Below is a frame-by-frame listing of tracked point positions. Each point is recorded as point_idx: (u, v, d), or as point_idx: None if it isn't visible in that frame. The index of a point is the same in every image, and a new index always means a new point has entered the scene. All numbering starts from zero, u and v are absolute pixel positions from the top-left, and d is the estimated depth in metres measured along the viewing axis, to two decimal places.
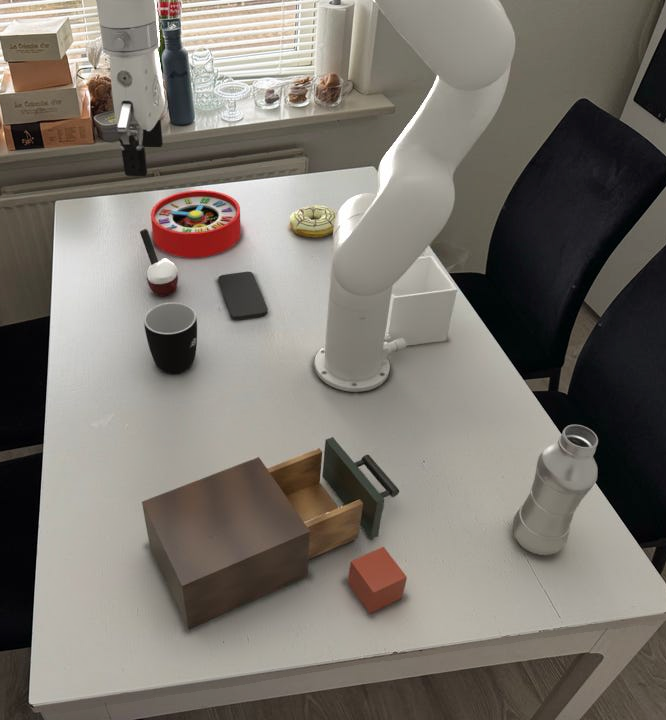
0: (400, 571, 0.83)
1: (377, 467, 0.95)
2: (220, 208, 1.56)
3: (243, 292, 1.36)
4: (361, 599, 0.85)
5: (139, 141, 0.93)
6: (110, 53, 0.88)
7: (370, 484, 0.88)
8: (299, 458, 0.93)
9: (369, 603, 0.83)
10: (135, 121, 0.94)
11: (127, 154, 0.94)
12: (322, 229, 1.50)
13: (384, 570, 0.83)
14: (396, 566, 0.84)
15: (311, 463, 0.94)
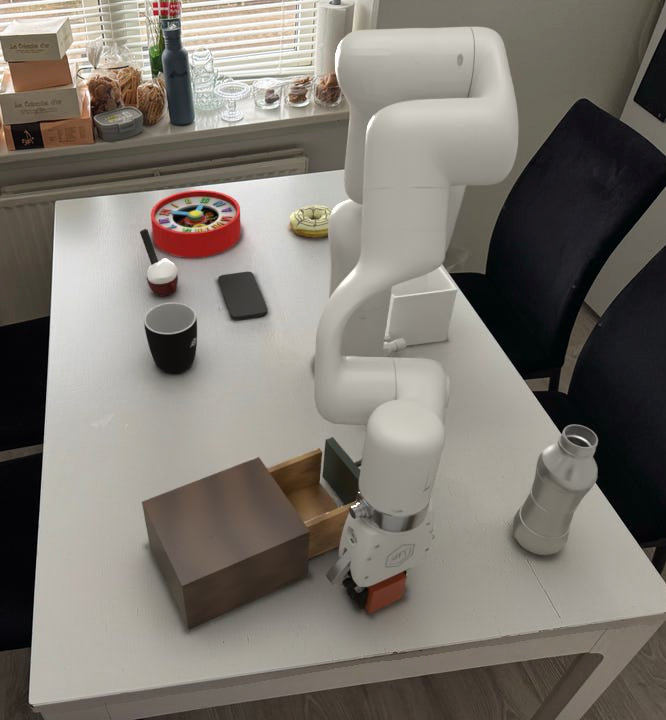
0: None
1: None
2: (220, 208, 1.56)
3: (243, 292, 1.36)
4: None
5: (358, 586, 0.81)
6: None
7: None
8: (299, 458, 0.93)
9: (369, 603, 0.83)
10: None
11: None
12: (322, 229, 1.50)
13: None
14: None
15: (311, 463, 0.94)
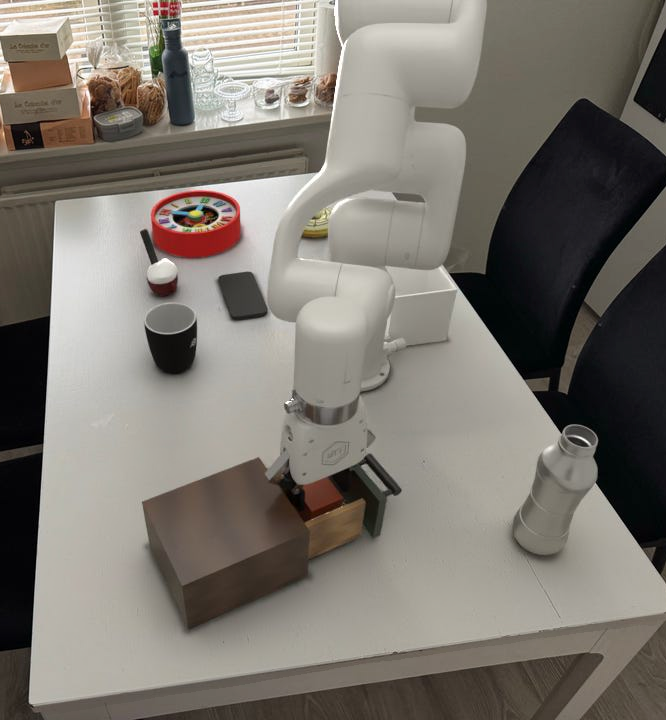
0: (337, 493, 0.90)
1: (379, 466, 0.95)
2: (220, 208, 1.56)
3: (243, 292, 1.36)
4: (303, 521, 0.92)
5: (295, 487, 0.86)
6: None
7: (372, 483, 0.88)
8: None
9: None
10: None
11: None
12: (322, 229, 1.50)
13: (323, 492, 0.90)
14: (334, 489, 0.91)
15: None
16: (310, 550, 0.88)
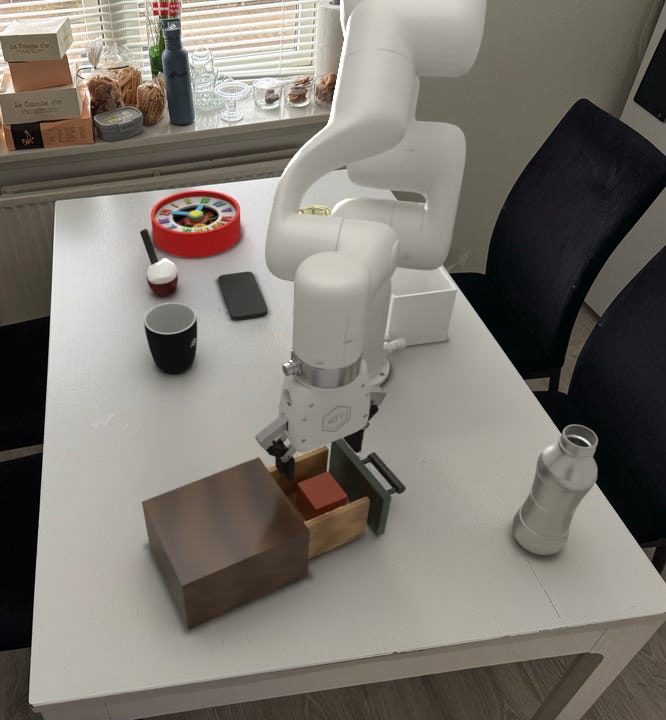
0: (342, 491, 0.90)
1: (383, 464, 0.95)
2: (220, 208, 1.56)
3: (243, 292, 1.36)
4: (307, 519, 0.92)
5: (285, 454, 0.81)
6: None
7: (377, 481, 0.89)
8: (306, 455, 0.93)
9: None
10: None
11: None
12: None
13: (327, 490, 0.91)
14: (338, 487, 0.91)
15: (317, 460, 0.94)
16: (314, 548, 0.88)
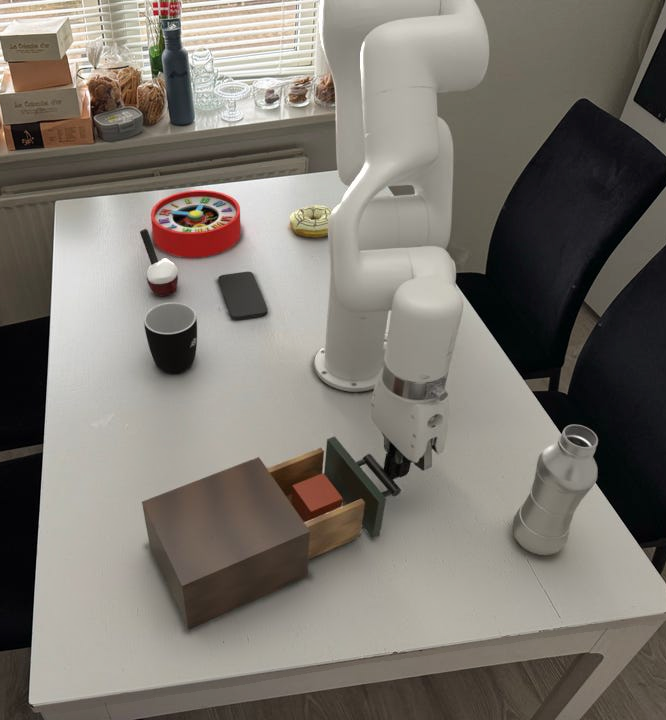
0: (337, 493, 0.90)
1: (379, 466, 0.95)
2: (220, 208, 1.56)
3: (243, 292, 1.36)
4: None
5: None
6: (415, 402, 0.82)
7: (372, 483, 0.88)
8: (301, 457, 0.93)
9: None
10: None
11: (402, 465, 0.92)
12: (322, 229, 1.50)
13: (322, 492, 0.90)
14: (333, 489, 0.91)
15: (313, 462, 0.94)
16: (309, 550, 0.88)
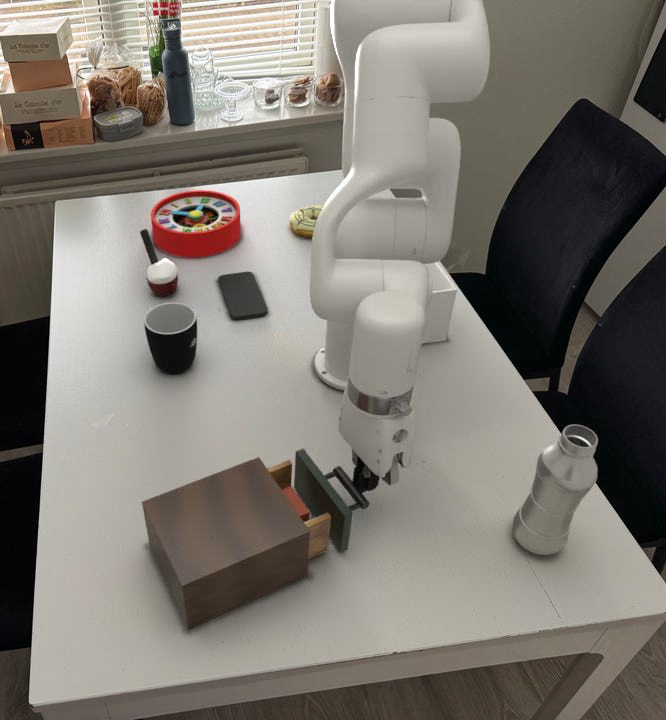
0: (304, 507, 0.89)
1: (348, 479, 0.93)
2: (220, 208, 1.56)
3: (243, 292, 1.36)
4: None
5: None
6: (380, 417, 0.80)
7: (339, 497, 0.87)
8: (268, 470, 0.92)
9: None
10: None
11: (370, 478, 0.91)
12: None
13: None
14: (301, 503, 0.89)
15: (281, 475, 0.93)
16: None
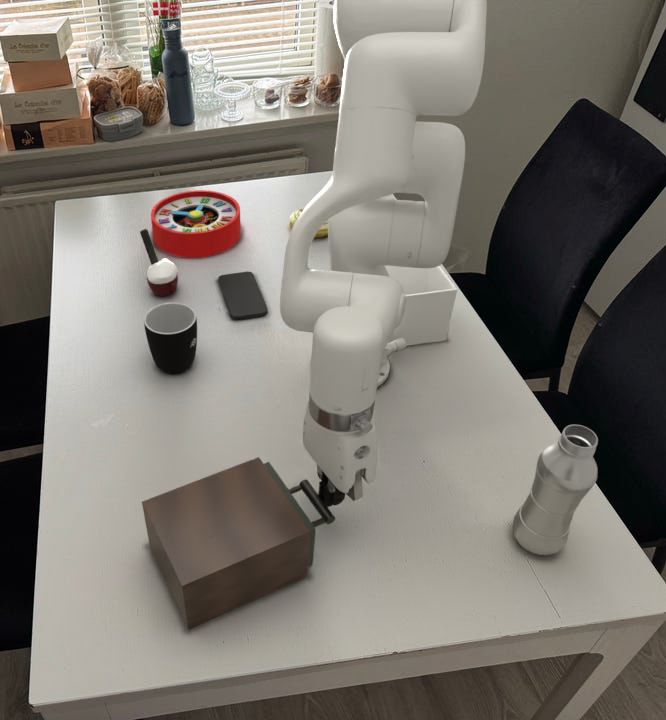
0: None
1: (314, 493, 0.92)
2: (220, 208, 1.56)
3: (243, 292, 1.36)
4: None
5: None
6: (341, 433, 0.79)
7: (302, 512, 0.86)
8: None
9: None
10: None
11: (335, 493, 0.89)
12: (322, 229, 1.50)
13: None
14: None
15: None
16: None
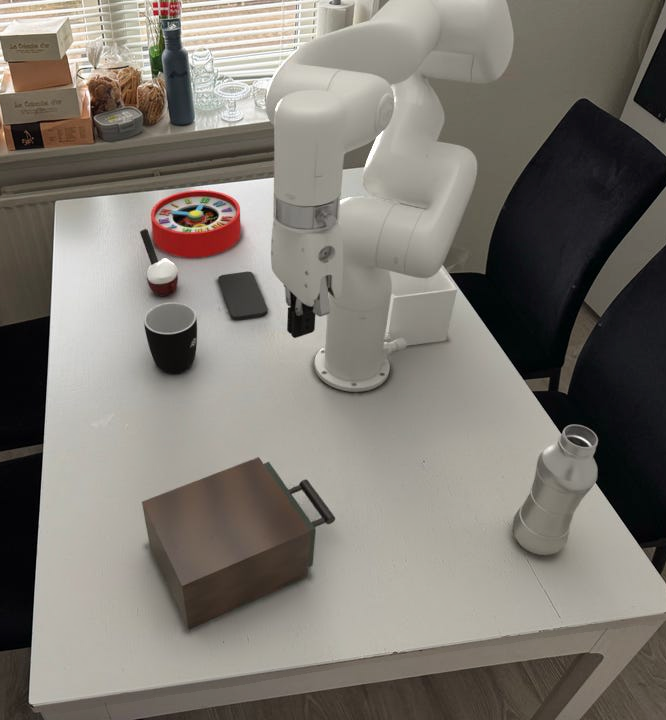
0: None
1: (314, 493, 0.92)
2: (220, 208, 1.56)
3: (243, 292, 1.36)
4: None
5: None
6: (304, 231, 0.77)
7: (302, 512, 0.86)
8: None
9: None
10: None
11: (303, 318, 0.87)
12: None
13: None
14: None
15: None
16: None
